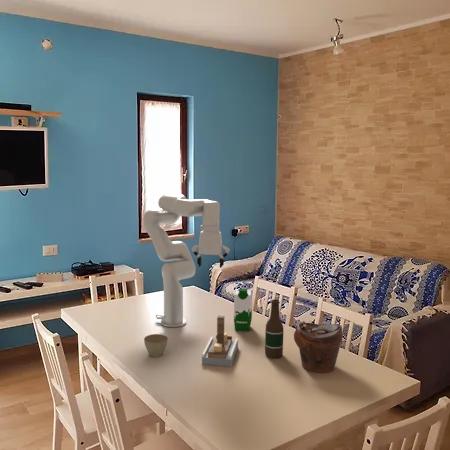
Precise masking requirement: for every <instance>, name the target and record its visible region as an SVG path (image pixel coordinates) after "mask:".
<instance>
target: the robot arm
mask: <svg viewBox="0 0 450 450" xmlns="http://www.w3.org/2000/svg"><path fill="white" fill-rule="evenodd" d="M220 207H221V206H220V203H219V201H217V200H209V199H207V198H203V199H202V198H201V199H200V198H199V199H187V197H186V196H185V195H184V194H181V193H171V194H164V195H161V197H160V198H159V199H158V208H151V209H149V210H148V209H147V211H145V213H144V214H143V217H142V220H143V226H144V229H145V231H146V233H147V234H148V236H149V238H150V239H151V242H152V245H153V247H154V250H155V252H156V254H157V256H158V259H159V260H160V261H162V262H166V263H164V264H163V266H162V267H161V276H162V277H161V278H162V280H163V313H162V314H161V313H156V314H155V318H156V320H160V325H161V326H163V327H167V328H180V327H184V326H185V325H186V324H187V320H186V319H185V318H184V288H183V286H182V284H181V283H180V281H181V280H185V279H190V278H192V277H194V276H195V274H196V270H197V268H196V264H195V262H194V260H193V257H192V255H191V252H190V251H189V250H190V249H189V247H188V245H187V244H186V243H185V242H184V241H180V240H175V241H171V239H170V237H169V235H168V233H167V232H166V231H165V229H164V228H163V227H161V226H163V225H173V224H175V223H176V222H177V221H178V220H179V218H181V217H187V218H191V217H192V218H193V217H202V225H199V226H198V227H199V228H198V229H200V230H201V231H200V234H199V238H198V239H199V242H198V244H196V245H194V246H192V247H191V250H192V252H193V254H194V255H195V256H196V258H197V261H196V262H197V265H198V267H201V266H202V255H205V256H206V255H208V256H209V255H210V256H219V258H220V259H219V268H220V269H221V268H222V267H223V266H224V264H225V263H224V262H225V257H227V256H228V254H229V253H230V251H231V249H230V248H229V247H227V246H226V245H224V244H223V240H222V239H223V238H222V232H221V231H220V212H221V210H220V209H221V208H220ZM196 249H198V251H197V250H196ZM223 250H225V251H224V253H223Z"/></svg>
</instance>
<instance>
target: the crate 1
mask: <svg viewBox="0 0 450 450" xmlns="http://www.w3.org/2000/svg"><path fill="white" fill-rule="evenodd" d="M214 352H222V344H218V343H215V344H214Z"/></svg>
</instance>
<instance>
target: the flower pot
mask: <svg viewBox="0 0 450 450" xmlns="http://www.w3.org/2000/svg"><path fill="white" fill-rule="evenodd" d="M168 340H169V338H168V336H167V335H165V334H160V333H154V334H152V333H151V334H148V335H146V336H145V337H144V338H143V342H144V347H145V350H146V352H147V353H148V354H149V356H150V357H153V358H158V357H161V356H162V355H163V354H164V352H165V350H166V347H167V345H168Z"/></svg>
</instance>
